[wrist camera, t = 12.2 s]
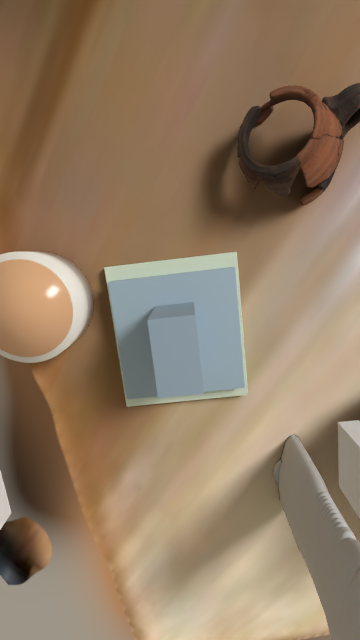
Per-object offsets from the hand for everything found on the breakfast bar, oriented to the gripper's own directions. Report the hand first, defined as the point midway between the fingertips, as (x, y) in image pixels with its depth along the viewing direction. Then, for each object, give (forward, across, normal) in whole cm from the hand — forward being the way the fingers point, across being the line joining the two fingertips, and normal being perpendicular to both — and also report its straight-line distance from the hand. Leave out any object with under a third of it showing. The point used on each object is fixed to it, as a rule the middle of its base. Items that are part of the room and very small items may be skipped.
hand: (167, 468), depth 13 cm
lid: (+24, 0, -1) cm, 24 cm away
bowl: (+25, -15, +4) cm, 29 cm away
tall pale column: (+25, +11, -20) cm, 34 cm away
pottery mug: (+25, +13, +16) cm, 33 cm away
